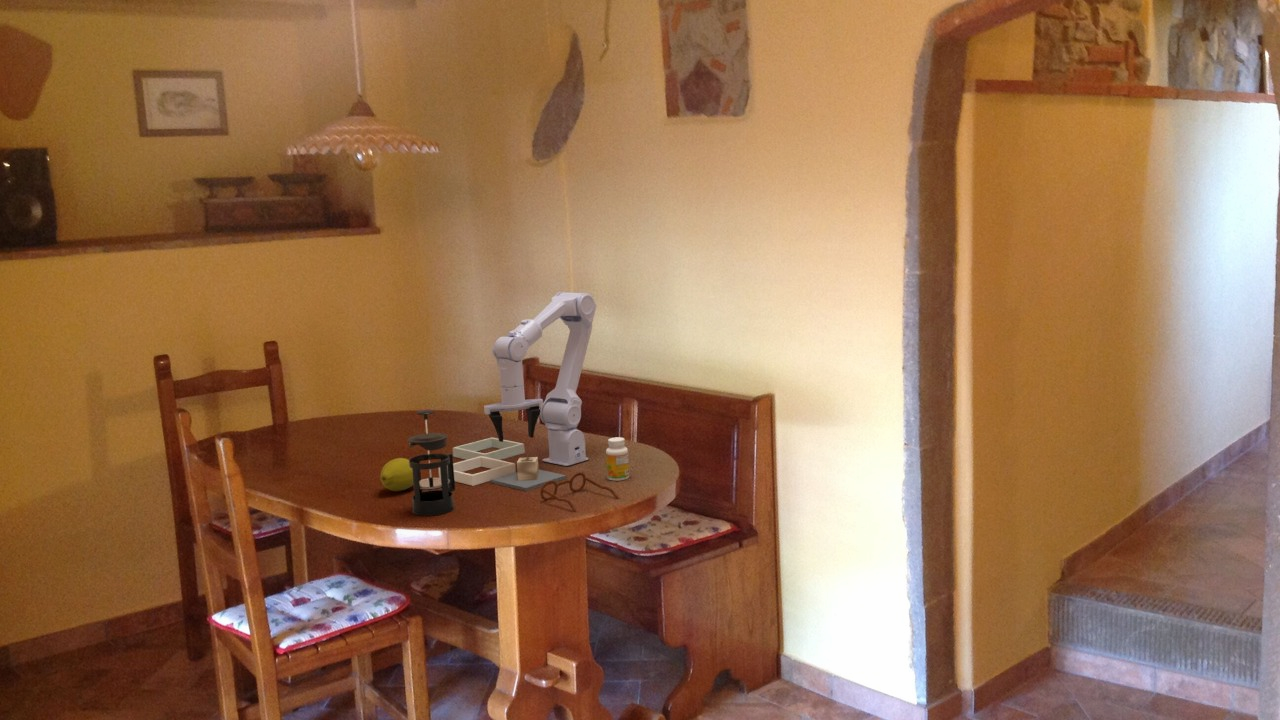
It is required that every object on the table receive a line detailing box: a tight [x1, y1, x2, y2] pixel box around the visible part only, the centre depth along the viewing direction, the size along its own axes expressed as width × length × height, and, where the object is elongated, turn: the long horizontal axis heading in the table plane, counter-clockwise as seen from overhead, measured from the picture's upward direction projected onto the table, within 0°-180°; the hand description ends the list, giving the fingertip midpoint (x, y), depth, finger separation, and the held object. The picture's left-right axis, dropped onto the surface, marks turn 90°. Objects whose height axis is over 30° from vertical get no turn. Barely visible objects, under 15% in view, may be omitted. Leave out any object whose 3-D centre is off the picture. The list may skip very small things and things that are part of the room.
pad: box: [490, 469, 567, 492], centre depth 272 cm, size 13×13×1 cm
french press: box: [407, 409, 456, 517], centre depth 251 cm, size 12×9×23 cm
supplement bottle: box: [605, 436, 630, 482], centre depth 270 cm, size 5×5×10 cm
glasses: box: [539, 472, 621, 513], centre depth 254 cm, size 13×13×5 cm
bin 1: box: [452, 436, 526, 461], centre depth 300 cm, size 14×14×2 cm
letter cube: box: [516, 456, 540, 480], centre depth 272 cm, size 4×4×5 cm
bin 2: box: [437, 456, 517, 487], centre depth 280 cm, size 14×14×2 cm
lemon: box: [379, 457, 414, 493], centre depth 268 cm, size 11×8×8 cm
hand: (516, 439), depth 276 cm, fingers open, 7 cm apart
